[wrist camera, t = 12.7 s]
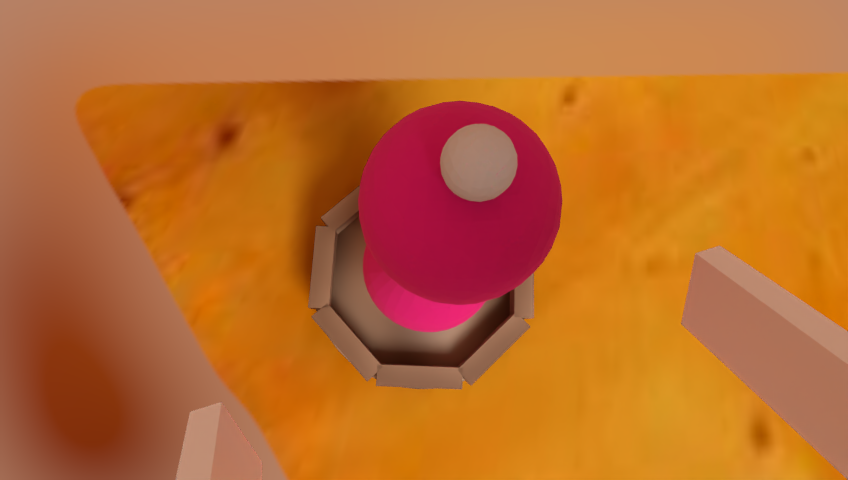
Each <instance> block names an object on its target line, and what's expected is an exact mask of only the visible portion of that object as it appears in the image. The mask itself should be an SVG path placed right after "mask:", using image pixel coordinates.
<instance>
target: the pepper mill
mask: <svg viewBox="0 0 848 480" xmlns="http://www.w3.org/2000/svg"><path fill="white" fill-rule="evenodd" d="M358 206H359V220H360V224H361V228H362V232H363V236H364V240H365V243H366V247H365V251H364V257H363V275H364V281H365V284H366V288H367V291H368V293H369V295H370V297H371V299H372V301H373V302H374V303H375V305H376V306H377V307H378V309H379V310H380V311H381V312H382V313H383V314H384V315H385V316H386V317H388V318H389V319H390V320H392V321H393V322H395V323H396V324H398V325H400V326H402V327H405V328H408V329H411V330H414V331H420V332H439V331H444V330H448V329H451V328H454V327H456V326H458V325H460V324H462V323H464V322H465V321H467V320H468V319H469V318H470V317H472V316H473V315H474V314H475V313H476V312H477V311H478V310H479V309H480V308H481V307H482V306H483V304H484V303H485V302H486V301H488V300H491V299H495V298H498V297H501V296H502V295H504V294H506V293H508V292H509V291H511V290H513V289H515V288H516V287H518V286H519V285H521V284H522V283H523V282H524V281H525V280H526V279H527V278H528V277H529V276H530V275H532V274H533V273H534V272H535V270H536V269H537V268H538V267H539V266H540V265H541V264H542V263H543V261H544V259H545V258H546V256H547V254H548V253H549V251H550V250H551V248H552V245H553V243H554V240H555V238H556V235H557V232H558V230H559V227H560V217H561V207H562V193H561V184H560V180H559V176H558V173H557V169H556V166H555V164H554V161H553V160H552V158H551V156H550V154H549V152H548V150H547V149H546V147H545V145H544V144H543V143H542V141H541V140H540V138H539V137H538V136H537V134H536V133H535V132H534V131H533V130H531V129H530V128H529V127H528V126H527V125H526V124H525V123H523V122H522V121H521V120H520V119H518V118H516V117H515V116H513V115H512V114H510V113H508V112H505V111H503V110H501V109H498V108H496V107H493V106H489V105H485V104H481V103H475V102H466V101H454V102H443V103H440V104H436V105H432V106H429V107H425V108H421V109H419V110H417V111H415V112H413V113H411V114H409V115H407V116H406V117H404V118H403V119H402V120H400V121H399V122H398V123H397V124H395V125H394V126H393V127H392V128H391V129H390V130H389V131H388V132H386V133H385V134H384V135H383V137H382V138H381V139H380V141H379V142H378V143H377V145H376V146H375V147H374V149H373V151H372V153H371V155H370V157H369V159H368V161H367V163H366V165H365V168H364V171H363V174H362V178H361V183H360V190H359V197H358Z"/></svg>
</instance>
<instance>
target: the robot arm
mask: <svg viewBox="0 0 848 480" xmlns="http://www.w3.org/2000/svg"><path fill="white" fill-rule="evenodd" d="M681 324H682V325H683V326H684V327H685V328H686V329H687V330H688V331H689V332H691V333H692V334H693V335H694V336H695V337H696V338H697V339H698V340H699V341H700V342H701V343H702V344H703V345H704V346H706V347H707V348H708V349H709V350H710V351H711V352H712V353H713V354H714V355H715V356H716V357H717V358H718V359H719V360H720V361H722V362H723V363H724V364H725V365H726V366H727V367H728V368H729V369H730V370H731V371H732V372H733V373H734V374H735V375H737V376H738V377H739V378H740V379H741V380H742V381H743V382H744V383H745V384H746V385H747V386H748V387H749V388H750V389H751V390H753V391H754V392H755V393H756V394H757V395H758V396H759V397H760V398H761V399H762V400H763V401H764V402H765V403H766V404H768V405H769V406H770V407H771V408H772V409H773V410H774V411H775V412H776V413H777V414H778V415H779V416H780V417H781V418H783V419H784V420H785V421H786V422H787V423H788V424H789V425H790V426H791V427H792V428H793V429H794V430H795V431H796V432H797V433H799V434H800V435H801V436H802V437H803V438H804V439H805V440H806V441H807V442H808V443H809V444H810V445H811V446H812V447H814V448H815V449H816V450H817V451H818V452H819V453H820V454H821V455H822V456H823V457H824V458H825V459H826V460H827V461H828V462H830V463H831V464H832V465H833V466H834V467H835V468H836V469H837V470H838V471H839V472H840V473H841V474H842V475H843V476H845V477H846V478H847V479H848V331H846V330H845V329H843V328H842V327H840V326H839V325H837V324H836V323H834V322H833V321H831V320H830V319H828V318H827V317H825V316H824V315H822V314H821V313H819V312H818V311H816V310H815V309H813V308H812V307H810V306H809V305H807V304H806V303H804V302H803V301H802V300H800V299H799V298H797V297H796V296H794V295H793V294H791V293H790V292H788V291H787V290H785V289H784V288H782V287H781V286H779V285H778V284H776V283H775V282H773V281H772V280H770V279H769V278H767V277H766V276H764V275H763V274H761V273H760V272H758V271H757V270H755V269H754V268H752V267H751V266H749V265H748V264H746V263H745V262H743V261H742V260H740V259H739V258H737V257H736V256H734V255H733V254H731V253H730V252H729V251H727V250H726V249H724V248H723V247H721V246H717V247H714V248H711V249H708V250H705V251H701V252H698V253H696V254H695V259H694V264H693V269H692V274H691V279H690V283H689V288H688V293H687V298H686V303H685V308H684V313H683V318H682V323H681ZM176 480H262V461H261V460H260V458H259V457H258V455H257V454H256V453H255V451H254V449H253V448H252V446H251V445H250V443H249V442H248V440H247V439H246V438H245V436H244V434H243V433H242V432H241V430H240V429H239V427H238V425H237V424H236V423H235V421H234V420H233V418H232V417H231V415H230V414H229V412H228V411H227V409H226V408H225V406H224V405H223V403H222V402H220V403H217V404H213V405H210V406H207V407H204V408H201V409H197V410H194V411H191V412H190V414H189V420H188V424H187V429H186V434H185V438H184V443H183V448H182V453H181V457H180V462H179V467H178V471H177V476H176Z"/></svg>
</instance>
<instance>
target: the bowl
mask: <svg viewBox="0 0 848 480" xmlns="http://www.w3.org/2000/svg"><path fill="white" fill-rule="evenodd" d="M359 190H360V186H358V187H357V188H356V189H355V190H353V191H352V192H351V193H350V194H349V195H347V196H346V197H345V198H344V199H343V200H341V201H340V202H339V203H338V204H336V205H335V206H334V207H333V208H332V209H330V210H329V211H328V212H327V213H326V214H324V215H323V216H322V217H321V219H322V221H323V222H324V223H325V225H326V226H316V232H315V243H314V253H313V263H312V274H311V284H310V295H309V305H308V308H311V309H316V310H317V312H316V313H315V314H314V315H313V316H312V318H313V319H314V320H315V322H316V323H317V324H318V325H319V326H320V327H321V329H322V330H323V331H324V332H325V333H326V334H327V336H328V337H329V338H330V340H331V341H332V343H333V344H334V345H335V347H336V348H337V349H338V350H339V352H340V353H341V354H342V355H343V356H344V357H345V358H346V359H347V360H348V361H349V362H351V363H352V364H353V366H354V367H355V368H356V369H357V370H358V371H359V373H360V374H361V375H362V376H363V377H364V378H365V380H366V381H368V380H369V379H370V378H371V377H373V378H375V379H377V381H376V386H392V387H404V388H414V389H433V388H444V389H462V381H464V380H465V381H466V382H467V383H468V384H470V385H472V384H473V383H474V382H475V381H476V380H477V379H478V378H479V377H480V376H481V375H482V374H483V373H484V372H485V371H486V370H487V369H488V368H489V367H490V366H491V365H492V364H493V363H494V362H495V361H496V360H497V359H498V358H499V357H500V356H501V355H502V354H503V353H504V352H505V351H506V350H507V349H508V348H510V347H511V346H512V345H513V344H514V343H515V342H516V341H517V340H518V339H519V338H520V337H521V336H522V335H523V334H524V333H525V332H526V331H527V330H528V329H529V328H530V326H529V325H528V324H527V323H526V322H525V321H524V319H531V318H534V273H533V274H532V275H530V276H529V277H528V278H527V279H526V280H525V281H524V282H523V283H522V284H521V285H519V286H518V287H516V288H515V289H513V290H511V291H509V292H508V293H506V294H504V295H502V296H501V297H498V298H495V299H491V300H488V301H486V302H485V303H484V304H483V306H482V307H481V308H480V309H479V310H478V311H477V312H476V313H475V314H474V315H473V316H472V317H470V318H469V319H468V320H467V321H465V322H464V323H462V324H460V325H458V326H456V327H454V328H451V329H448V330H444V331H439V332H420V331H414V330H411V329H408V328H405V327H402V326H400V325H398V324H396V323H395V322H393V321H392V320H390V319H389V318H388V317H386V316H385V315H384V314H383V313H382V312H381V311H380V310H379V309H378V307H377V306H376V305H375V303H374V302H373V301H372V299H371V297H370V295H369V293H368V291H367V288H366V284H365V281H364V275H363V257H364V251H365V247H366V243H365V240H364V236H363V232H362V228H361V224H360V220H359V206H358V197H359Z"/></svg>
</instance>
